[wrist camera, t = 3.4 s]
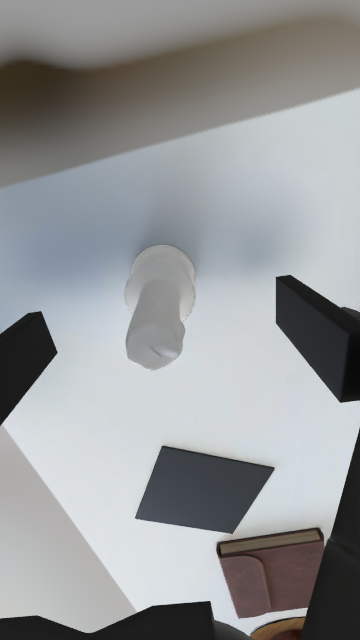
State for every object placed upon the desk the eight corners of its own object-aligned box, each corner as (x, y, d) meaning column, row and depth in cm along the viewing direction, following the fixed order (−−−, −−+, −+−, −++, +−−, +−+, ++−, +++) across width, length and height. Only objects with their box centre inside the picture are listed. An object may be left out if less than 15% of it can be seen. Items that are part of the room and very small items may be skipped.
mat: (135, 517, 36) (135, 518, 35) (162, 445, 30) (162, 447, 30) (232, 532, 37) (232, 533, 37) (274, 467, 32) (274, 469, 32)
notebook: (320, 527, 37) (327, 544, 36) (321, 592, 45) (327, 608, 44) (215, 542, 39) (217, 559, 37) (234, 603, 47) (237, 619, 45)
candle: (201, 251, 21) (230, 308, 10) (187, 312, 23) (198, 412, 12) (135, 238, 21) (90, 281, 10) (127, 301, 23) (82, 395, 12)
